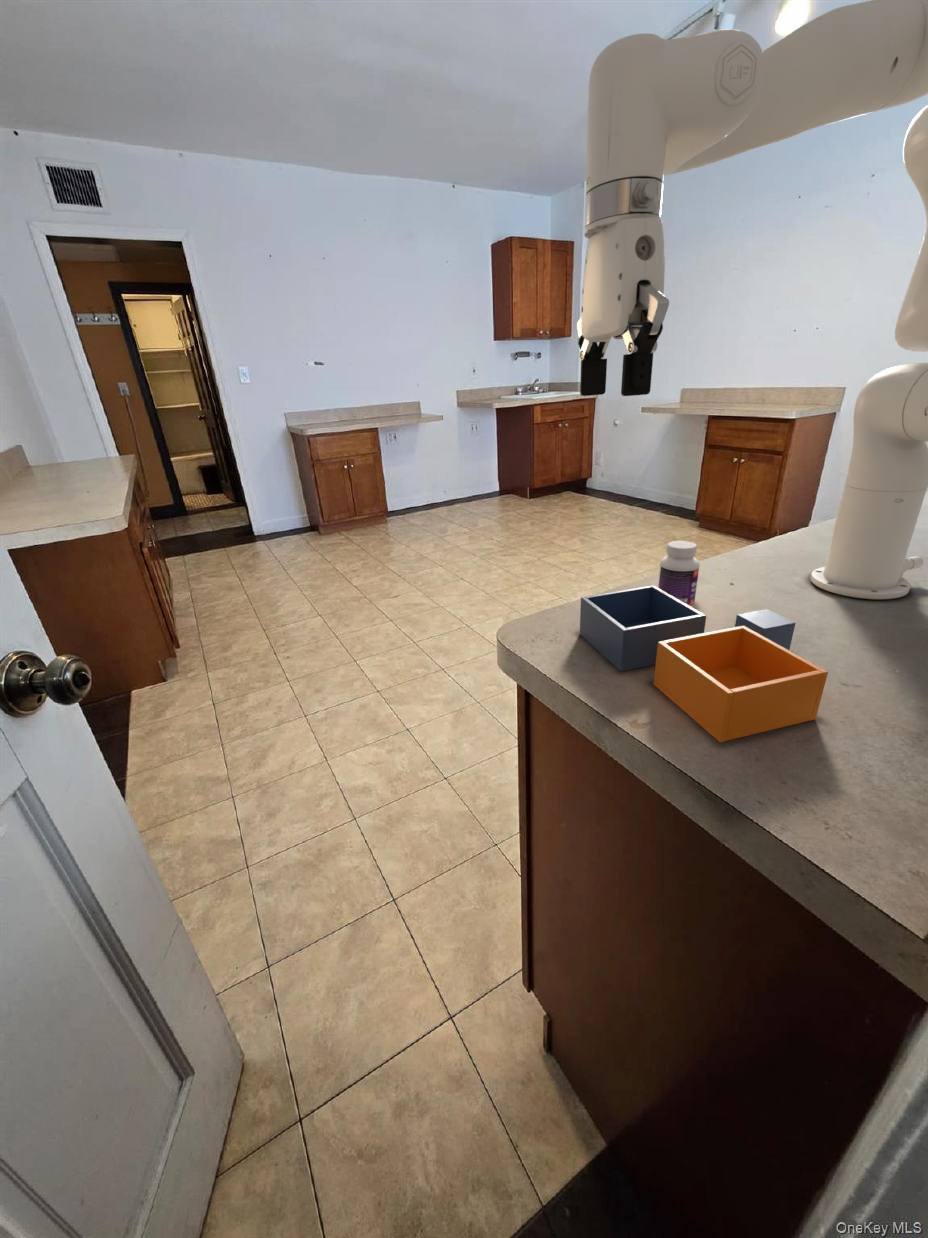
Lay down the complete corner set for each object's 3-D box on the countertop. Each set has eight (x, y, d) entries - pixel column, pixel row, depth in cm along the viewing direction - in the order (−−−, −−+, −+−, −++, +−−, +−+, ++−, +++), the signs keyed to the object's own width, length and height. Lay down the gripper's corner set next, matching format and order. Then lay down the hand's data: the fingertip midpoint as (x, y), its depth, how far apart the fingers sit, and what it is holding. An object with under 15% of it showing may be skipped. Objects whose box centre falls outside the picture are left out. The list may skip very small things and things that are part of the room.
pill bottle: (697, 613, 76) (705, 550, 72) (658, 612, 77) (665, 550, 73) (690, 599, 81) (697, 539, 77) (654, 598, 82) (659, 539, 78)
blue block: (760, 640, 67) (766, 608, 65) (788, 655, 63) (795, 622, 61) (731, 645, 66) (736, 614, 65) (757, 662, 62) (764, 628, 61)
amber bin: (736, 667, 62) (743, 625, 59) (815, 719, 52) (828, 671, 49) (653, 684, 59) (657, 641, 57) (719, 742, 49) (728, 693, 47)
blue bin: (650, 620, 75) (653, 585, 72) (700, 655, 65) (706, 615, 62) (579, 633, 72) (580, 597, 70) (620, 671, 62) (623, 630, 60)
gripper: (711, 183, 46) (687, 392, 53) (612, 236, 61) (605, 393, 68) (635, 182, 44) (622, 397, 51) (554, 236, 59) (552, 397, 67)
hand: (612, 394), depth 60 cm, fingers open, 9 cm apart
